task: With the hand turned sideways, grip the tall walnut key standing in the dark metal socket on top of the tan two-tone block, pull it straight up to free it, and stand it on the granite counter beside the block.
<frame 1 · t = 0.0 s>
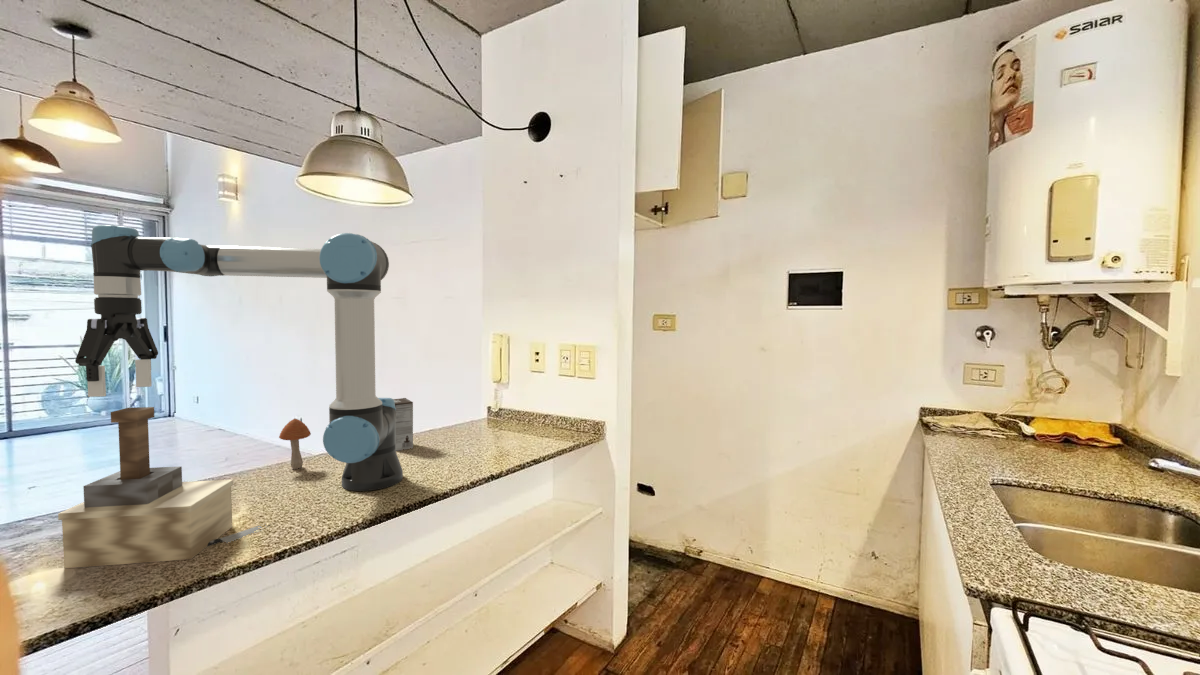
hand: (122, 391, 110), 28 cm above the counter, tool pointing down, fingers open, 13 cm apart
tan two-tone block: (155, 545, 97), on the counter
coffee box: (400, 447, 168), on the counter
key: (136, 495, 95), point 10 cm above the counter, touching tan two-tone block
chef's knife: (237, 539, 101), on the counter
mushroom: (295, 469, 144), on the counter
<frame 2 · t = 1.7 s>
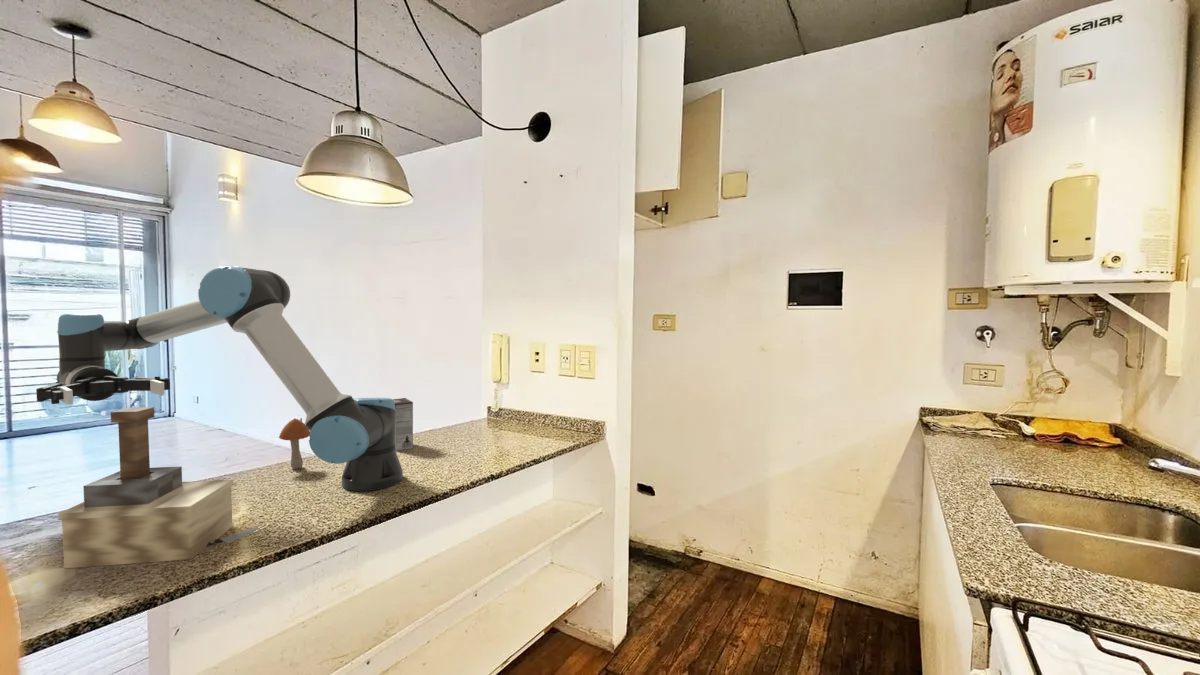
hand: (118, 392, 100), 29 cm above the counter, tool horizontal, fingers open, 13 cm apart
nothing on the counter moved.
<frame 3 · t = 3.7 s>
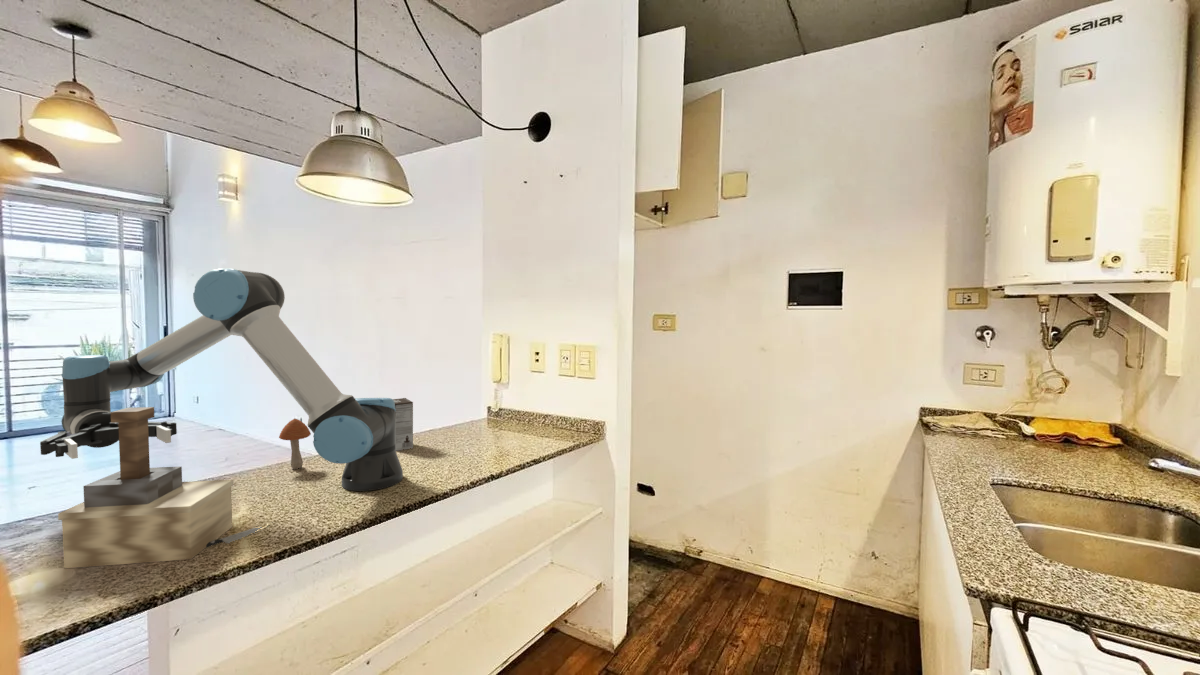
hand: (124, 443, 97), 20 cm above the counter, tool horizontal, fingers open, 13 cm apart
nothing on the counter moved.
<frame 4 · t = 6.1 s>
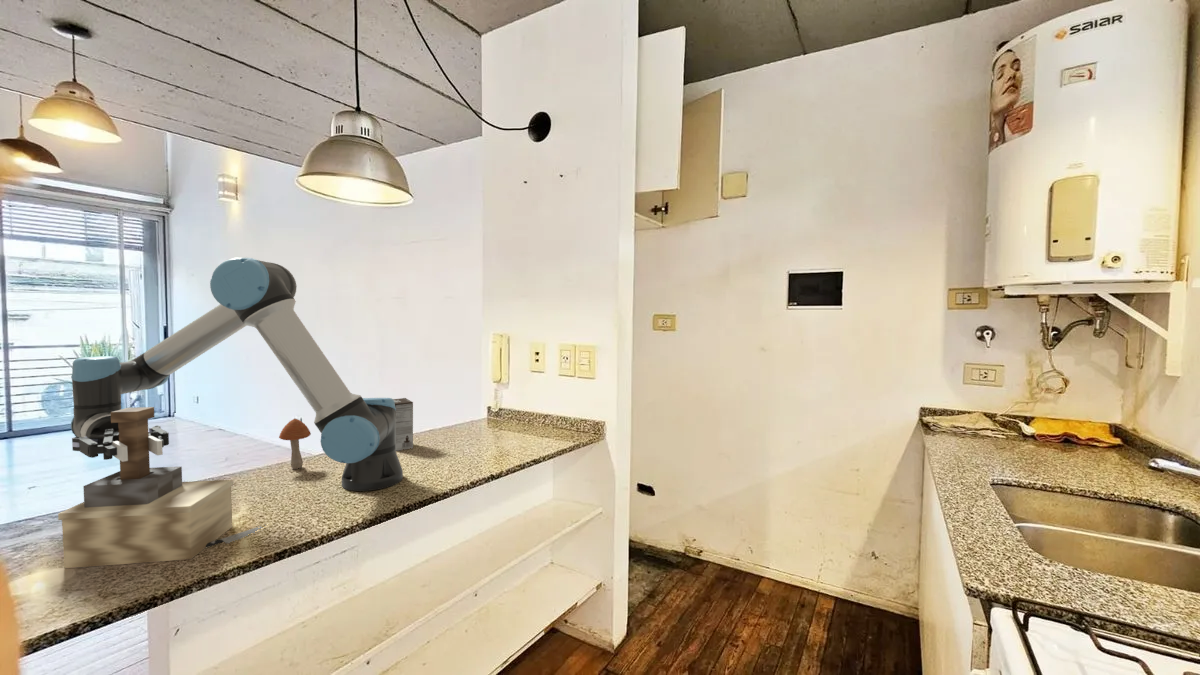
hand: (142, 450, 92), 20 cm above the counter, tool horizontal, fingers closed on key, 4 cm apart
key: (136, 495, 95), point 10 cm above the counter, touching gripper, tan two-tone block
everything else where it was.
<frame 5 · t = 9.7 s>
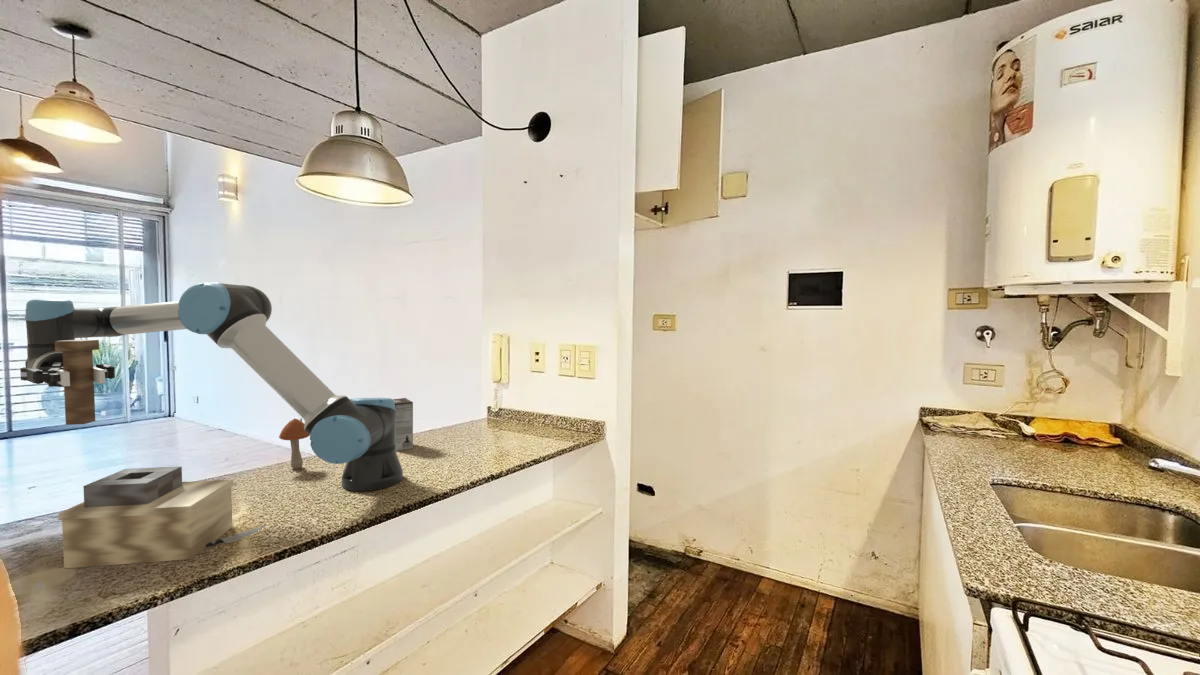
hand: (84, 377, 97), 33 cm above the counter, tool horizontal, fingers closed on key, 4 cm apart
key: (80, 422, 101), point 23 cm above the counter, touching gripper
everything else where it was.
when the fingers open (11 cm above the counter, at t = 13.7 s): key drops 2 cm, on the counter.
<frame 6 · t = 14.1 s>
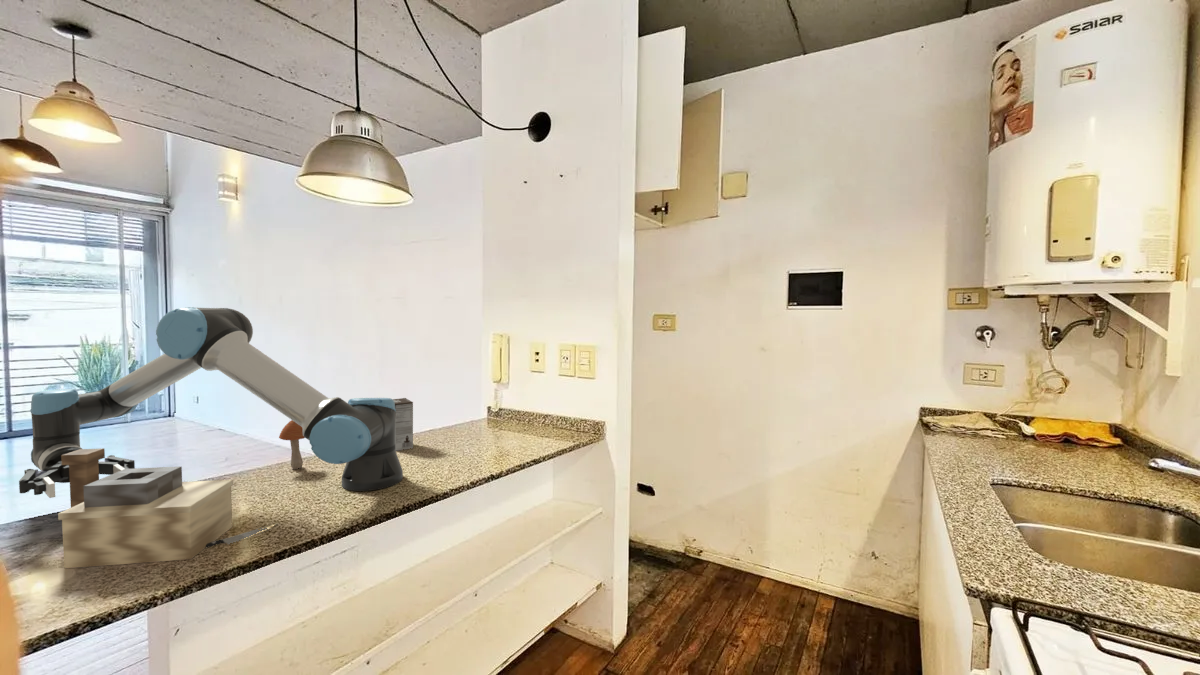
hand: (89, 483, 99), 11 cm above the counter, tool horizontal, fingers open, 9 cm apart
key: (86, 532, 102), on the counter
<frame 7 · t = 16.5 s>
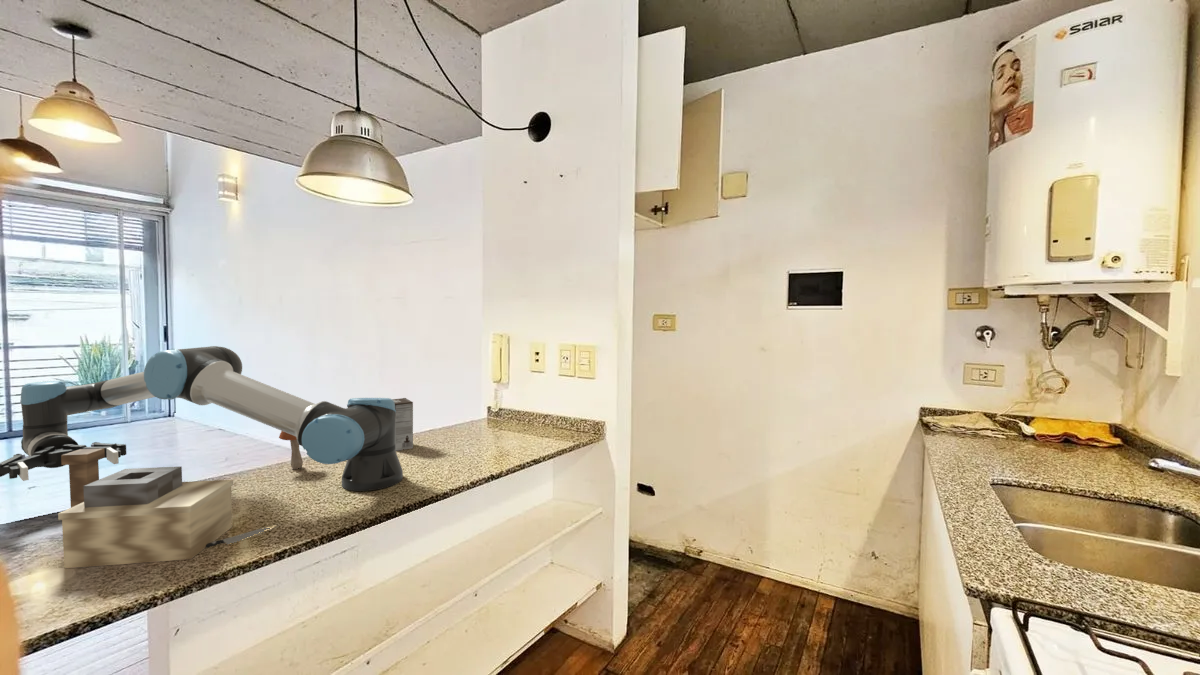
hand: (73, 465, 107), 12 cm above the counter, tool horizontal, fingers open, 13 cm apart
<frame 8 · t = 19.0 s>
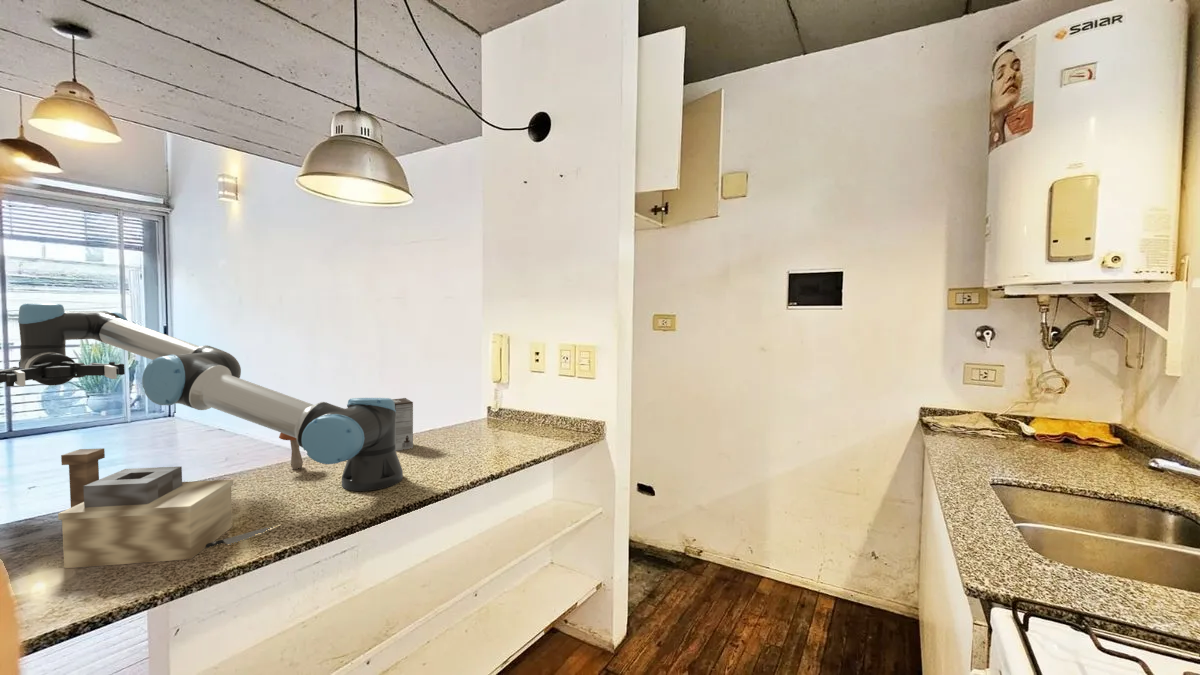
hand: (70, 376, 106), 32 cm above the counter, tool horizontal, fingers open, 13 cm apart
at the end: key inside the target area (0.0 cm from its centre), on the counter; key tilted 0°; the gripper is holding nothing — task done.
